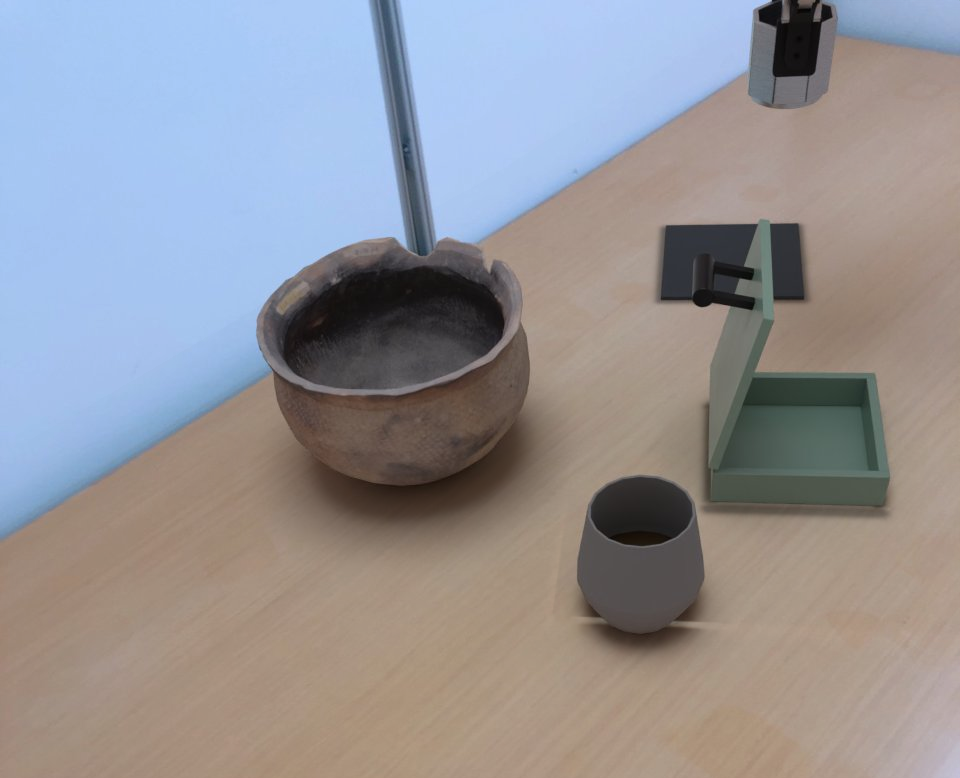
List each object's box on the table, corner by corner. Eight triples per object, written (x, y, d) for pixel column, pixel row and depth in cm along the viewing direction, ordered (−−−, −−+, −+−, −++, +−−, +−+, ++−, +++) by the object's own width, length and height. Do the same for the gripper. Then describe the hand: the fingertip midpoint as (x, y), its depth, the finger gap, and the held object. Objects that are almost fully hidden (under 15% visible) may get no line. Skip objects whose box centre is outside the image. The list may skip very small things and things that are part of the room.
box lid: (770, 220, 85) (701, 207, 85) (774, 320, 77) (698, 305, 77) (718, 367, 96) (658, 356, 96) (717, 470, 88) (651, 457, 88)
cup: (722, 589, 85) (733, 491, 77) (665, 670, 80) (670, 575, 73) (615, 547, 89) (615, 451, 81) (555, 622, 84) (548, 528, 77)
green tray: (868, 408, 97) (875, 372, 94) (881, 513, 89) (890, 477, 86) (711, 406, 99) (714, 371, 97) (709, 508, 91) (712, 473, 88)
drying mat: (797, 226, 118) (798, 223, 118) (803, 299, 109) (804, 296, 109) (665, 228, 120) (666, 225, 120) (660, 300, 111) (660, 296, 111)
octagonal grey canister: (823, 75, 90) (833, -5, 86) (828, 108, 86) (840, 27, 82) (745, 78, 91) (752, 0, 87) (748, 112, 87) (755, 31, 83)
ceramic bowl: (574, 401, 102) (568, 253, 91) (476, 558, 90) (455, 410, 78) (366, 360, 109) (337, 218, 98) (250, 500, 97) (201, 357, 86)
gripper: (896, -197, 67) (849, 102, 81) (868, -263, 78) (831, 10, 92) (770, -187, 68) (745, 107, 82) (759, -253, 79) (739, 15, 93)
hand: (791, 53), depth 87 cm, fingers closed on octagonal grey canister, 6 cm apart
